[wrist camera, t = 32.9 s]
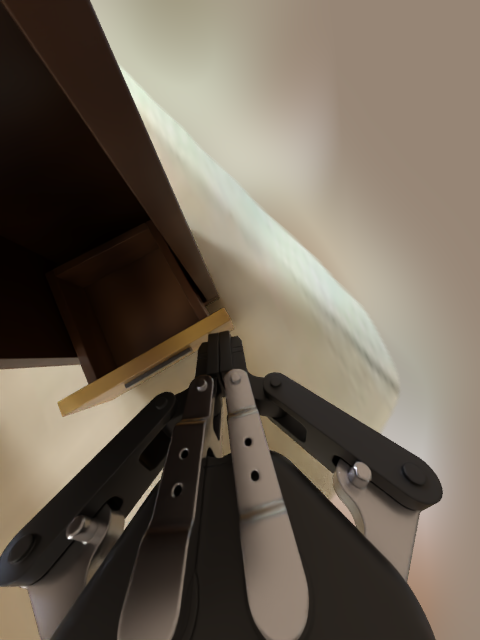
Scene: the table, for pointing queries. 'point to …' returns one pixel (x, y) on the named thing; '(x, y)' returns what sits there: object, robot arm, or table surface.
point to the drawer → (129, 314)
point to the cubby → (69, 170)
